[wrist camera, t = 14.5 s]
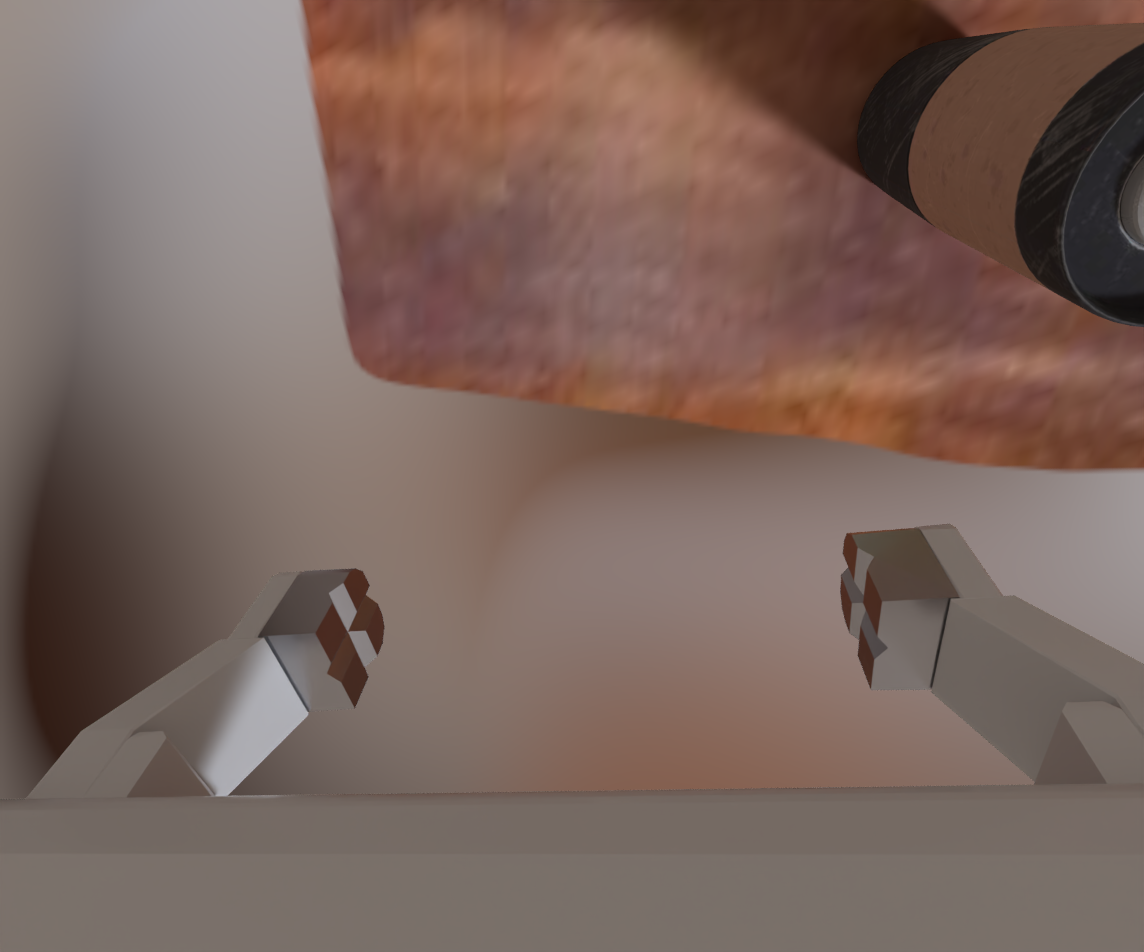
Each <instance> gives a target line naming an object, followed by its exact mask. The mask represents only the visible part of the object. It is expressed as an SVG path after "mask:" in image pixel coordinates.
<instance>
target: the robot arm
mask: <svg viewBox="0 0 1144 952" xmlns="http://www.w3.org/2000/svg"><path fill="white" fill-rule="evenodd" d="M843 555H844V557H845V560H846V562H847V565H848V568H847V569H846V570H845V571H844V572H843V574H841V587H840V594H841V604H842V610H843V614H844V619H845V622H846V625H847V628H848V630H849V633H850V634H851V635H853V636H854V637H855V638H857V639H858V640H859V647H858V657H859V660H860V663H861V665H862V668H863V671H864V674H865V676H866V679H867V681H868V684H869V686H870V689H871V690H925V689H927V690H930V689H931V690H932V693H933V694H934V695H935V696H936V697H938V698H939V699H940V700H941V701H942V702H943V703H944V704H946V705H947V706H948V707H949V708H950V709H952V711H954V712H955V713H956V714H957V715H958V716H959V717H961V718H962V719H963V720H964V721H965V722H966V723H967V724H969V725H970V726H971V727H972V728H973V729H975V730H976V731H977V732H978V733H979V734H980V735H981V736H983V737H984V738H985V739H986V740H987V741H988V742H989V743H991V744H992V745H993V746H994V747H995V748H996V749H997V750H999V751H1000V752H1001V753H1002V754H1003V755H1004V756H1006V757H1007V758H1008V759H1009V760H1010V761H1011V762H1012V763H1014V764H1015V765H1016V766H1017V767H1018V768H1019V769H1021V770H1022V771H1023V772H1024V773H1025V774H1026V775H1027V776H1029V777H1030V778H1031V779H1032V780H1033V781H1034V782H1035V783H1034V785H977V786H904V787H902V786H901V787H829V788H760V789H686V790H618V791H616V790H615V791H550V792H549V791H547V792H546V791H545V792H472V793H401V794H333V795H332V794H328V795H264V796H263V795H257V796H227V795H228V794H229V793H230V792H231V791H232V790H234V788H235V787H237V786H238V785H239V783H241V781H242V780H243V779H245V777H247V775H249V774H250V773H251V772H252V770H254V768H255V767H256V766H257V765H259V764H260V763H261V761H263V760H264V759H265V758H266V757H267V756H268V755H269V753H271V752H272V751H273V750H274V749H275V748H276V747H277V746H278V745H279V744H280V743H281V742H282V741H283V740H284V739H285V738H286V737H287V736H288V735H289V734H290V733H291V731H293V730H294V729H295V727H297V726H298V725H299V724H300V723H301V722H302V721H303V719H305V718H306V717H307V716H308V712H313V711H328V710H342V709H355V707H356V705H357V703H358V700H359V698H360V695H361V693H362V691H363V689H364V686H365V684H366V682H367V680H368V674H367V672H366V669H365V666H367V665H368V664H369V663H370V662H371V661H373V659H375V658H376V657H377V656H378V654H379V651H380V649H381V646H382V644H383V635H384V621H383V616H382V613H381V610H380V608H379V606H378V604H377V603H376V602H374V601H373V600H372V599H370V598H369V597H367V596H366V593H367V591H368V588H369V586H370V585H369V583H368V581H367V579H366V577H365V575H364V573H363V571H361V570H358V569H356V568H355V569H334V570H313V571H304V572H283V573H278V574H276V575H274V576H272V577H271V579H270V580H269V582H268V583H267V584H266V586H265V587H264V589H263V590H262V591H261V593H260V594H259V595H258V597H257V598H256V600H255V601H254V603H253V604H252V605H251V607H250V608H249V610H248V611H247V613H246V614H245V615H244V617H243V618H242V620H241V621H240V622H239V624H238V625H237V627H236V628H235V630H234V631H233V632H232V634H231V635H230V637H229V638H228V639H227V640H219V641H217V642H216V643H214V644H213V645H211V646H209V647H208V648H207V649H205V650H203V651H202V652H200V653H199V654H198V655H196V656H194V657H193V658H191V659H190V660H188V661H187V662H185V663H184V664H182V665H181V666H179V667H178V668H176V669H175V670H173V671H172V672H170V673H169V674H167V675H166V676H164V677H163V678H161V679H160V680H158V681H157V682H155V683H154V684H152V685H150V686H149V687H147V688H146V689H144V690H143V691H141V692H140V693H138V694H137V695H135V696H134V697H132V698H131V699H129V700H128V701H127V702H125V703H123V704H122V705H120V706H119V707H118V708H116V709H114V710H113V711H111V712H110V713H108V714H107V715H105V716H104V717H102V718H101V719H99V720H98V721H96V722H95V723H93V724H92V725H90V726H89V727H87V728H85V729H84V730H82V731H81V732H80V733H79V735H78V736H77V737H76V738H75V739H74V741H73V742H72V743H71V744H70V746H69V747H68V748H67V749H66V750H65V752H64V753H63V754H62V755H61V757H60V758H59V759H58V760H57V761H56V763H55V764H54V765H53V766H52V767H51V769H50V770H49V771H48V772H47V774H46V775H45V776H44V777H43V778H42V780H41V781H40V782H39V783H38V784H37V786H36V787H35V788H34V789H33V791H32V792H31V793H30V794H29V795H28V797H27V798H26V799H0V952H1144V664H1143V663H1141V662H1139V661H1137V660H1135V659H1133V658H1131V657H1130V656H1128V655H1125V654H1124V653H1122V652H1120V651H1118V650H1116V649H1114V648H1112V647H1111V646H1109V645H1107V644H1105V643H1103V642H1101V641H1099V640H1097V639H1095V638H1093V637H1092V636H1090V635H1088V634H1086V633H1084V632H1082V631H1080V630H1078V629H1076V628H1075V627H1073V626H1071V625H1069V624H1067V623H1065V622H1063V621H1061V620H1059V619H1058V618H1056V617H1054V616H1052V615H1050V614H1048V613H1046V612H1044V611H1042V610H1040V609H1039V608H1036V607H1035V606H1033V605H1031V604H1029V603H1027V602H1025V601H1023V600H1022V599H1020V598H1018V597H1016V596H1003V595H1002V594H1001V592H1000V591H999V589H998V588H997V586H996V585H995V583H994V582H993V581H992V579H991V578H990V576H989V575H988V573H987V572H986V570H985V569H984V568H983V566H982V565H981V563H980V562H979V560H978V559H977V557H976V556H975V555H974V553H973V552H972V550H971V549H970V547H969V546H968V545H967V543H966V542H965V540H964V539H963V537H962V536H961V535H960V533H959V531H958V530H957V529H956V527H954V526H952V525H951V524H942V525H932V526H921V527H915V528H908V529H895V530H882V531H869V532H857V533H847V534H846V536H845V539H844V546H843Z"/></svg>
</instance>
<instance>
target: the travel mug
mask: <svg viewBox="0 0 1144 952" xmlns="http://www.w3.org/2000/svg"><path fill="white" fill-rule="evenodd" d="M857 144H858V153H859V157H860V161H861V164H862V166H863V168H864V170H865V172H866V174H867V175H868V177H869V178H870V179H871V180H872V181H873V182H874V184H876V185H877V186H878V187H879V188H880V189H882V190H883V191H884V192H885V193H887V194H888V195H890V196H891V197H892V198H894V199H895V200H897V201H898V202H900V203H901V204H903V205H904V206H905V207H907V208H908V209H910V210H911V211H913V212H914V213H916V214H917V215H918V216H920V217H921V218H923V219H924V220H926V221H927V222H929V223H930V224H931V225H933V226H935V227H936V228H938V229H939V230H941V231H943V232H944V233H946V234H948V235H950V236H952V237H953V238H955V239H957V240H959V241H961V242H963V243H964V244H966V245H968V246H970V247H972V248H974V249H975V250H977V251H979V252H981V253H983V254H985V255H986V256H988V257H990V258H992V259H994V260H996V261H997V262H999V263H1001V264H1003V265H1005V266H1007V267H1008V268H1010V269H1012V270H1014V271H1016V272H1018V273H1019V274H1021V275H1023V276H1025V277H1027V278H1029V279H1030V280H1032V281H1034V282H1036V283H1038V284H1040V285H1041V286H1043V287H1045V288H1047V289H1049V290H1051V291H1052V292H1054V293H1056V294H1058V295H1060V296H1062V297H1063V298H1065V299H1067V300H1069V301H1071V302H1073V303H1074V304H1076V305H1078V306H1080V307H1082V308H1084V309H1085V310H1087V311H1089V312H1091V313H1093V314H1095V315H1097V316H1099V317H1102V318H1105V319H1107V320H1110V321H1113V322H1116V323H1121V324H1126V325H1130V326H1139V327H1144V23H1131V24H1109V25H1086V26H1063V27H1044V28H1033V29H1024V30H1017V31H1009V32H1002V33H995V34H987V35H980V36H973V37H965V38H958V39H951V40H946V41H941V42H937V43H933V44H929V45H927V46H924V47H921V48H919V49H917V50H915V51H913V52H911V53H910V54H908V55H907V56H905V57H904V58H902V59H901V60H899V61H898V62H897V63H896V64H895V65H894V66H892V67H891V68H890V69H889V70H888V71H887V72H886V73H885V74H884V76H883V77H882V78H881V79H880V81H879V82H878V83H877V84H876V86H875V88H874V89H873V91H872V92H871V94H870V96H869V98H868V100H867V102H866V104H865V106H864V109H863V112H862V114H861V118H860V122H859V127H858V139H857Z"/></svg>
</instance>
